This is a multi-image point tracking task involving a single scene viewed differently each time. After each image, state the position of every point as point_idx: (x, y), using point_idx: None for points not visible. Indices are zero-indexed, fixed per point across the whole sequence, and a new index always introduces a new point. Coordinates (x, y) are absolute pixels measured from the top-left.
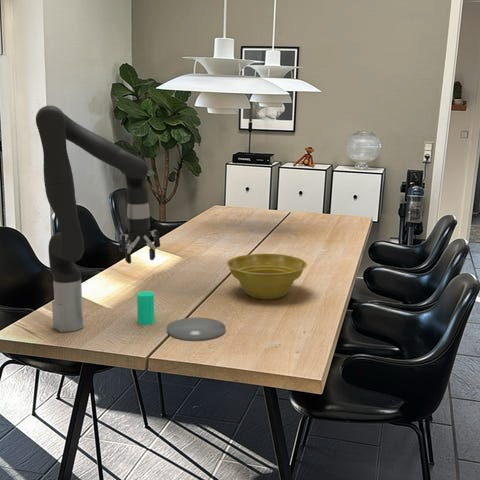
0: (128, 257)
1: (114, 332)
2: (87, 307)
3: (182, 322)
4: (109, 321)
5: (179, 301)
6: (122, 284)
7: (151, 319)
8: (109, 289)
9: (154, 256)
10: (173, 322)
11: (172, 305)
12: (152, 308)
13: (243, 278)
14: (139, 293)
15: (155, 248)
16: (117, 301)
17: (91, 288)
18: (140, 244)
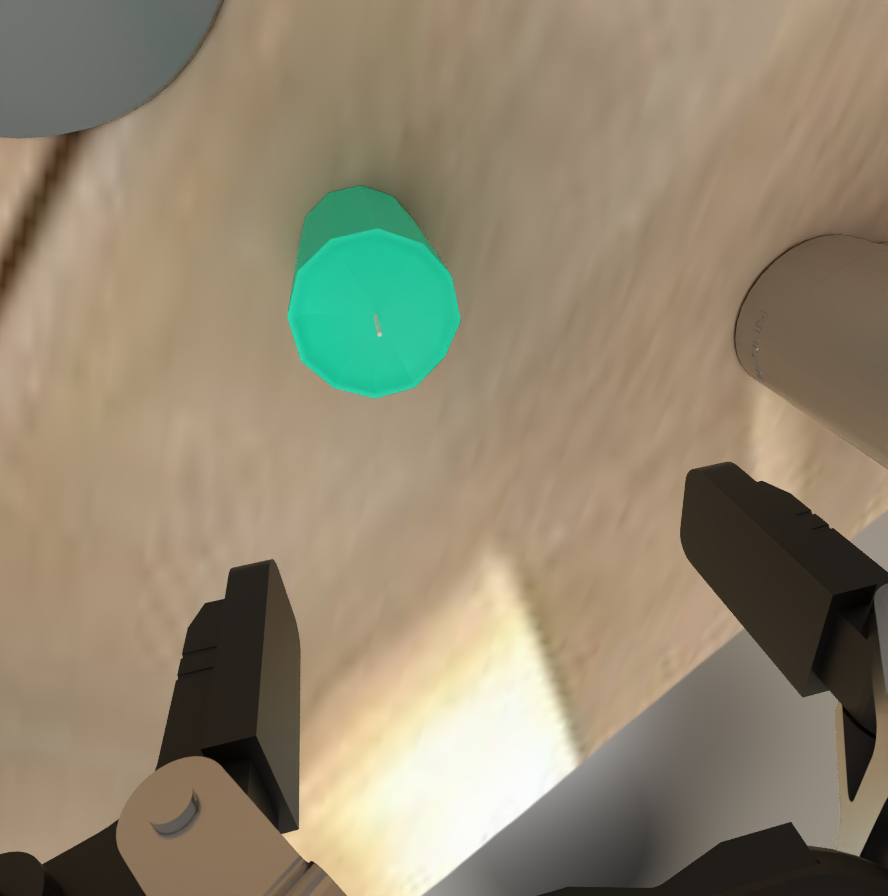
0: (802, 539)
1: (627, 107)
2: (595, 584)
3: (64, 26)
4: (575, 343)
5: (62, 572)
6: (345, 820)
7: (331, 198)
8: (419, 774)
9: (204, 630)
10: (153, 65)
11: (119, 515)
12: (318, 223)
13: None
14: (422, 363)
15: (128, 814)
16: (430, 633)
17: (490, 790)
18: (673, 882)
